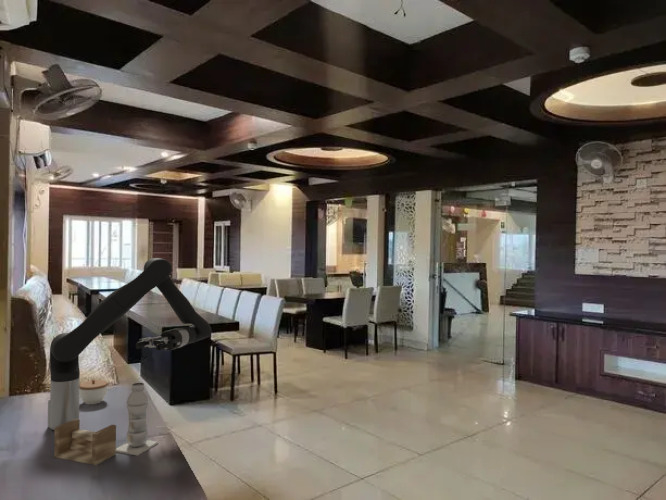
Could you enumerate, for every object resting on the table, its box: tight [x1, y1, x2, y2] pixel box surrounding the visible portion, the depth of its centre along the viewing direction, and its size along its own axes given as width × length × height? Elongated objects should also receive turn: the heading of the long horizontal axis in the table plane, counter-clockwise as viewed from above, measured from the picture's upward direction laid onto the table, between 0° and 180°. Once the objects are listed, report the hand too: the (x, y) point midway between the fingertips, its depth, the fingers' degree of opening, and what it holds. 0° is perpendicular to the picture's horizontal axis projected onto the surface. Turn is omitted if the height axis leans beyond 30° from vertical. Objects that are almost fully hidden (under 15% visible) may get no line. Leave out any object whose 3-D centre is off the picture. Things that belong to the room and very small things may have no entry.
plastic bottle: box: [125, 382, 149, 447], centre depth 159 cm, size 6×7×20 cm
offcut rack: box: [53, 418, 117, 466], centre depth 152 cm, size 16×8×9 cm, turn 73°
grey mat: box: [116, 439, 159, 456], centre depth 159 cm, size 9×10×1 cm
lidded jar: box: [79, 379, 108, 406], centre depth 203 cm, size 11×11×9 cm
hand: (146, 346), depth 173 cm, fingers open, 8 cm apart
